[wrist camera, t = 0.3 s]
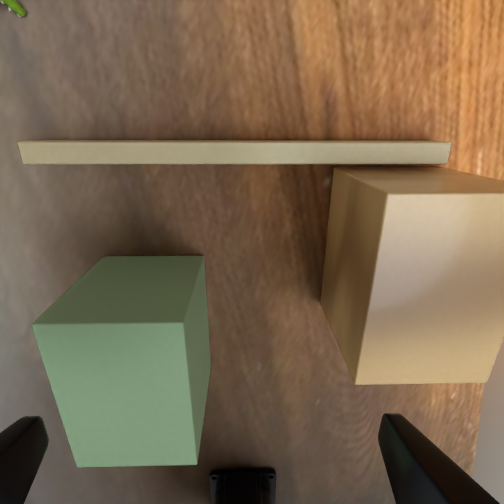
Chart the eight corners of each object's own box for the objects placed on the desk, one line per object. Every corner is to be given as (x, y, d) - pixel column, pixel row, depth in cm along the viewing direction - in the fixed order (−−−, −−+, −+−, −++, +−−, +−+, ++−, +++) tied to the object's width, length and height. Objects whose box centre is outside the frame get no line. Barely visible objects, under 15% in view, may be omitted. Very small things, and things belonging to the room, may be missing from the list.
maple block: (411, 302, 24) (487, 383, 16) (319, 303, 23) (354, 385, 16) (442, 167, 20) (560, 192, 12) (333, 167, 20) (387, 192, 12)
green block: (211, 366, 26) (197, 465, 18) (125, 368, 25) (76, 468, 18) (204, 255, 22) (183, 322, 14) (103, 255, 22) (29, 324, 14)
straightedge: (428, 160, 20) (447, 164, 18) (43, 160, 19) (22, 164, 17) (432, 140, 19) (452, 142, 17) (38, 139, 19) (16, 141, 17)
